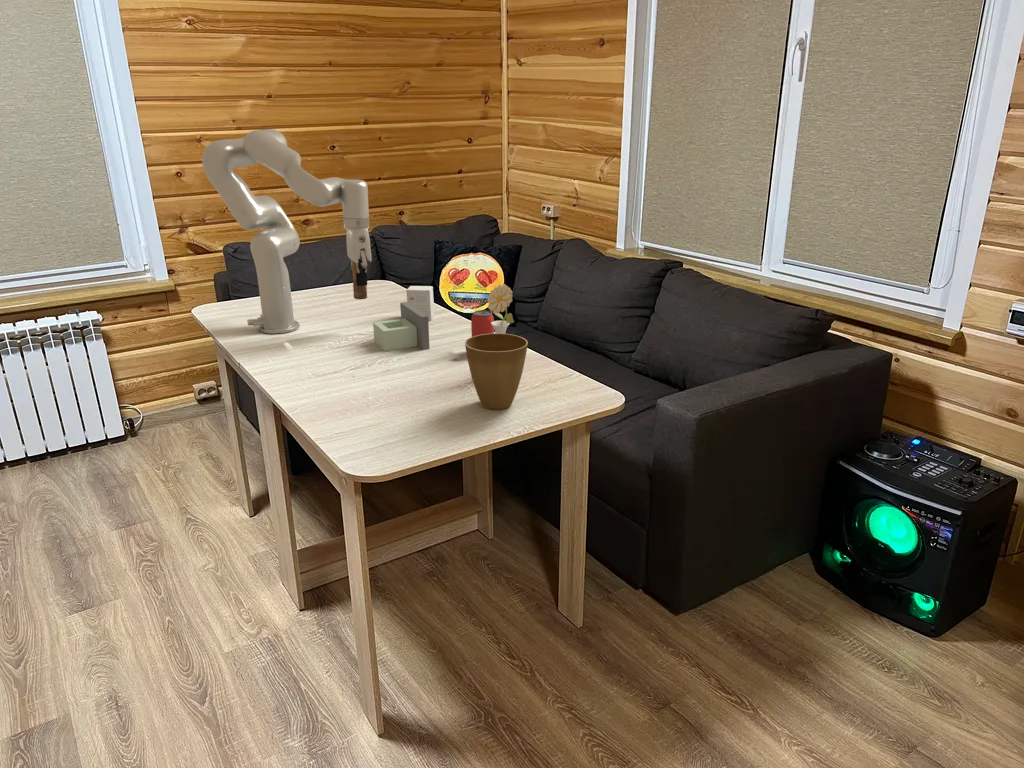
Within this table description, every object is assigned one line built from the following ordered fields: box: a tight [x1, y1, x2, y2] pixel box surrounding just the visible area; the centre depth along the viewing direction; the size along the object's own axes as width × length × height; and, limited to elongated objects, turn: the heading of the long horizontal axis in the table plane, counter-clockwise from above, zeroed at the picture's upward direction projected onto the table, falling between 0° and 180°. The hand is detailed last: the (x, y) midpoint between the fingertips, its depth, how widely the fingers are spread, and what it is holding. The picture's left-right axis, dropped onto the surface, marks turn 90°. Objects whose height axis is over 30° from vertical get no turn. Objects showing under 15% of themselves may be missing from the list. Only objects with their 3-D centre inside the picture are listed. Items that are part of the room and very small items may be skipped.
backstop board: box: [399, 301, 430, 351], centre depth 220 cm, size 22×18×11 cm
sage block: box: [372, 318, 419, 352], centre depth 222 cm, size 10×10×6 cm
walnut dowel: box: [351, 260, 368, 300], centre depth 227 cm, size 4×4×12 cm
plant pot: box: [464, 332, 529, 410], centre depth 180 cm, size 15×15×16 cm
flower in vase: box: [487, 283, 515, 334], centre depth 199 cm, size 13×11×25 cm
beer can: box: [470, 309, 495, 337], centre depth 217 cm, size 7×7×12 cm
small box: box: [406, 285, 435, 321], centre depth 251 cm, size 8×6×10 cm
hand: (359, 283), depth 228 cm, fingers closed on walnut dowel, 4 cm apart
